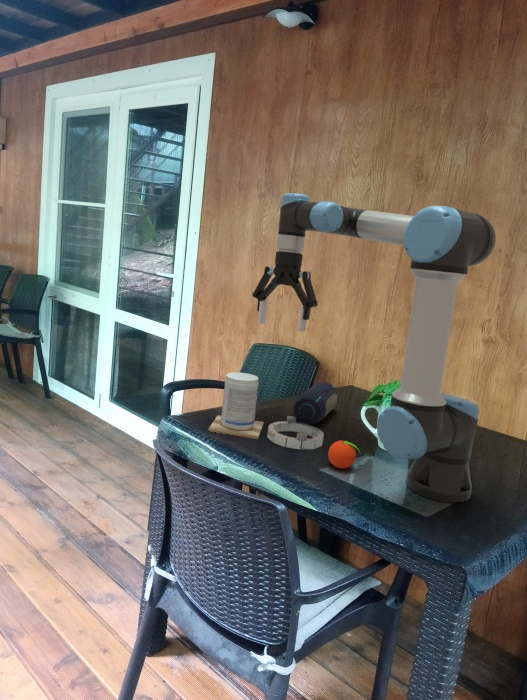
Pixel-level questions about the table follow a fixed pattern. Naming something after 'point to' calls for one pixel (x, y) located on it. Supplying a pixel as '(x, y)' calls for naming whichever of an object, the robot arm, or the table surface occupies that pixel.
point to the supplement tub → (239, 401)
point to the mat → (249, 433)
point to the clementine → (342, 454)
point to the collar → (301, 438)
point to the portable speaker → (315, 403)
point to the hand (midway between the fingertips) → (280, 327)
